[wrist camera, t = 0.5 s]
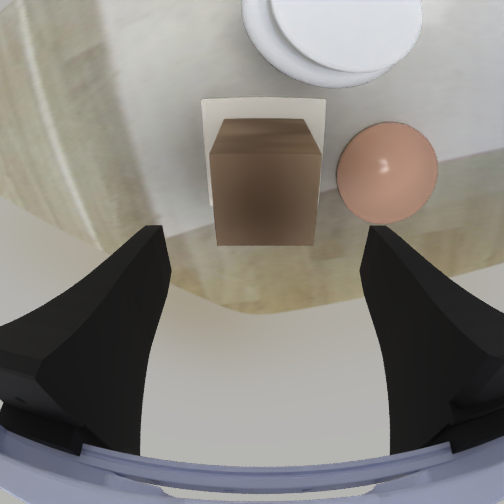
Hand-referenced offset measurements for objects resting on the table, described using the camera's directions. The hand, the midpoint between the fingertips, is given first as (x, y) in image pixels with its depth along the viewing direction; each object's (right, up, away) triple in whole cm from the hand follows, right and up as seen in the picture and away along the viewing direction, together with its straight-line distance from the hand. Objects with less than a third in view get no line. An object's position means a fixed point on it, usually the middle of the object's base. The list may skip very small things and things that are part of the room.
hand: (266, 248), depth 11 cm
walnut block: (0, +6, +7) cm, 9 cm away
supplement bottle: (+2, +12, +3) cm, 13 cm away
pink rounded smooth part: (+8, +5, +8) cm, 12 cm away
